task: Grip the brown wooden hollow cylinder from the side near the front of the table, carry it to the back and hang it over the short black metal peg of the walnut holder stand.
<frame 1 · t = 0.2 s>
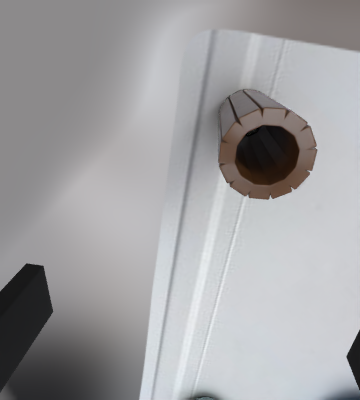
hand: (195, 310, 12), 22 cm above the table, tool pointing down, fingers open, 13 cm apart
brown wooden hollow cylinder: (245, 118, 30), on the table
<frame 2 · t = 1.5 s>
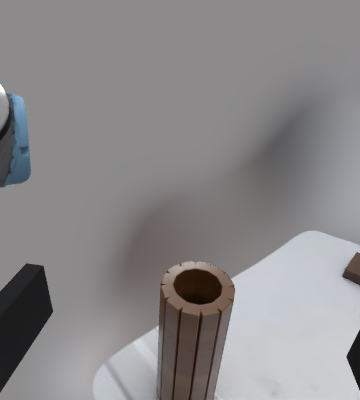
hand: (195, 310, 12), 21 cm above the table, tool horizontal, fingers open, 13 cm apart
brown wooden hollow cylinder: (185, 388, 29), on the table
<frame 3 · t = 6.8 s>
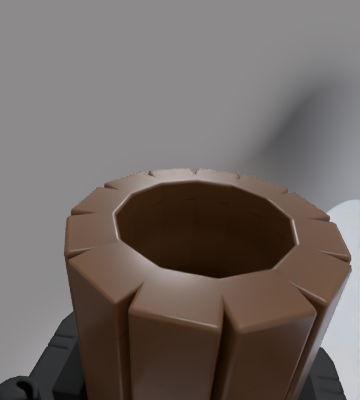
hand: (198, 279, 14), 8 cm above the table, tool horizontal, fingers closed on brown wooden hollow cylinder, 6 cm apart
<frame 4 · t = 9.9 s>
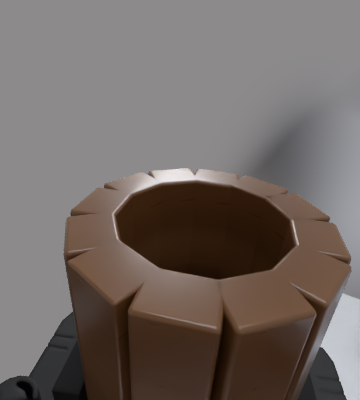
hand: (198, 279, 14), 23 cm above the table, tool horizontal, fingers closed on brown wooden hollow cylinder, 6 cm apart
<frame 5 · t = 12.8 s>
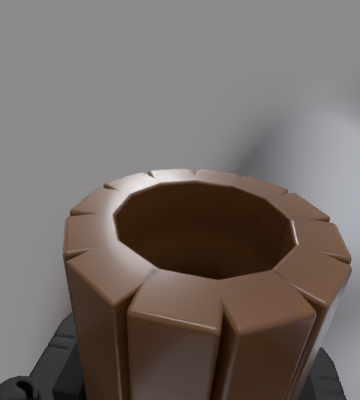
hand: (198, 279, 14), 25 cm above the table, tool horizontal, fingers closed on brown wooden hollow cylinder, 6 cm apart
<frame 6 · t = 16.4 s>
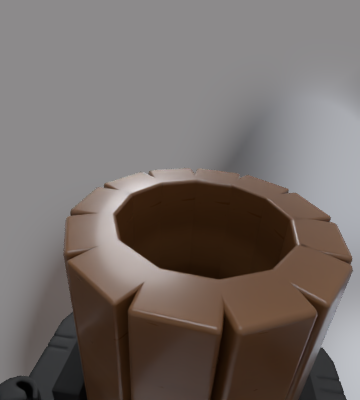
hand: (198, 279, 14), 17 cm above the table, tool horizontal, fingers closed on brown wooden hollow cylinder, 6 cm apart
when the fingers open (9 cm above the table, at t = 19.1 s): brown wooden hollow cylinder stays where it is, resting on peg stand.
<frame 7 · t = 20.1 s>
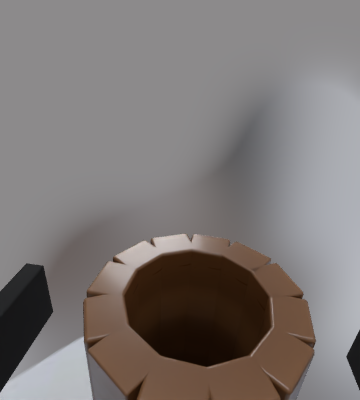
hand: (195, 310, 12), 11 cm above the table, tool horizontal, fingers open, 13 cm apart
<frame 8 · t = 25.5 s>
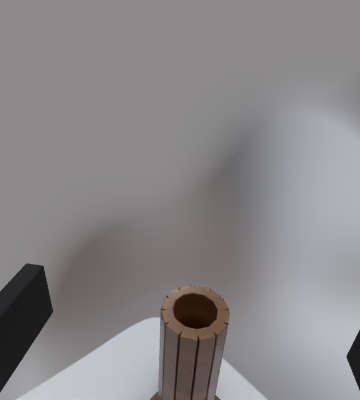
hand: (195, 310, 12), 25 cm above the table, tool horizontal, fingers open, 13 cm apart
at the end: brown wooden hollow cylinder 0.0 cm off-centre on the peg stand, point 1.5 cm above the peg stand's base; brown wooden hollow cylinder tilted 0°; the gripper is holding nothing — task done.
